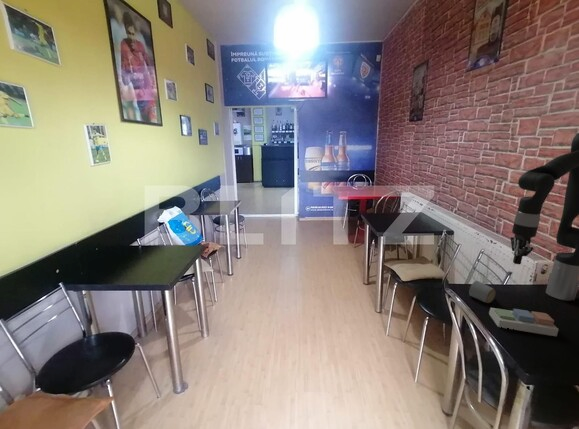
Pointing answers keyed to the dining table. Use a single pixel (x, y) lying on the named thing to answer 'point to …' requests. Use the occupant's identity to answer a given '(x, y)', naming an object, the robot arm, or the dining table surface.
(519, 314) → the slate button
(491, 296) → the grey cylinder
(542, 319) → the terracotta button
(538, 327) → the console
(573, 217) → the robot arm
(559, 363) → the dining table surface
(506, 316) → the green button
